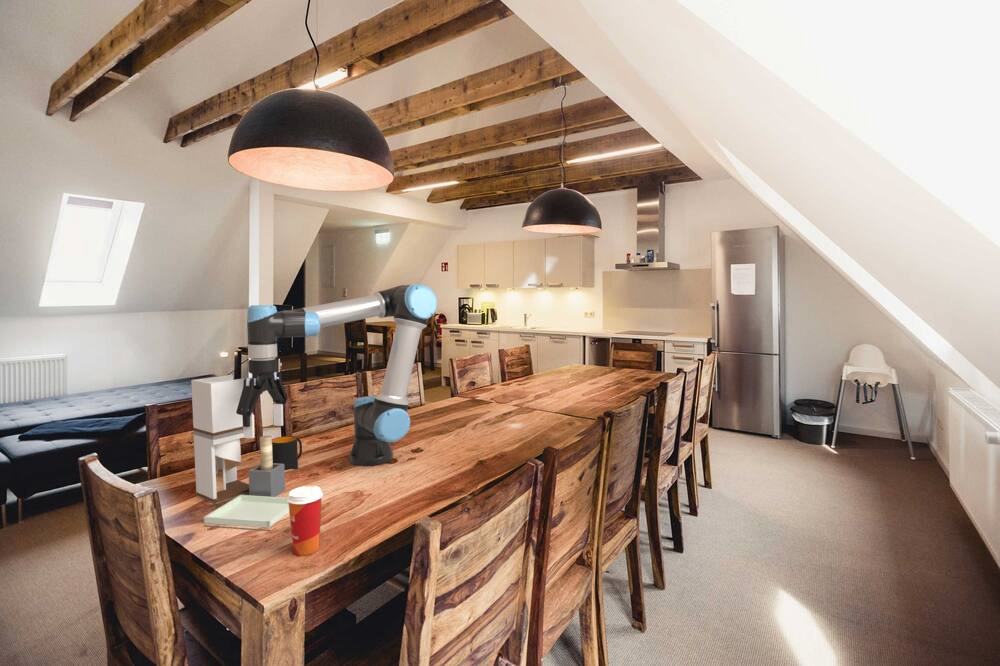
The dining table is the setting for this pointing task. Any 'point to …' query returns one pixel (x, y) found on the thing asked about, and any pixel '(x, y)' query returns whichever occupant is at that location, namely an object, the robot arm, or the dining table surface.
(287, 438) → the mug
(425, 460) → the dining table surface
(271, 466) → the dowel
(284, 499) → the tray
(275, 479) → the pen cup
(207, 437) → the white coffee maker
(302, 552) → the paper cup
